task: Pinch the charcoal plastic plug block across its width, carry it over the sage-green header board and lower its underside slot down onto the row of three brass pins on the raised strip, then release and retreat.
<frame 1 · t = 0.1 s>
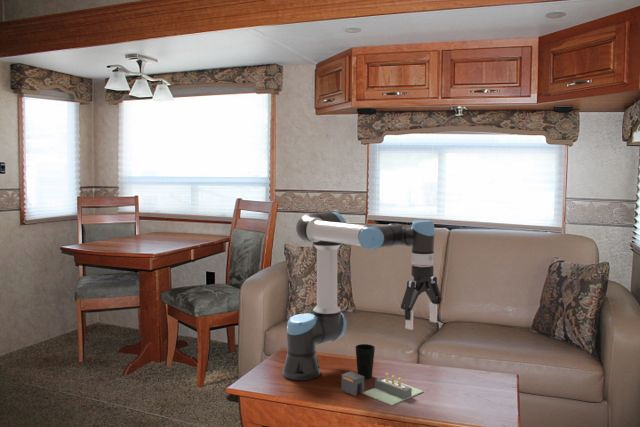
hand: (421, 325, 189), 28 cm above the table, fingers open, 13 cm apart
plug block: (352, 391, 202), on the table
cup: (364, 377, 216), on the table
header: (393, 392, 200), on the table
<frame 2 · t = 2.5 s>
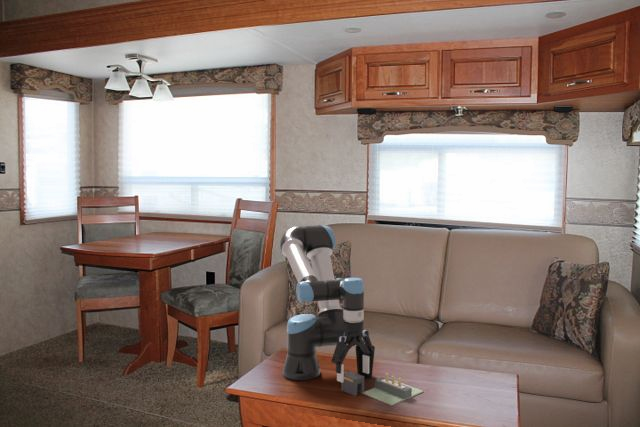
hand: (353, 377, 201), 6 cm above the table, fingers open, 13 cm apart
nothing on the table moved.
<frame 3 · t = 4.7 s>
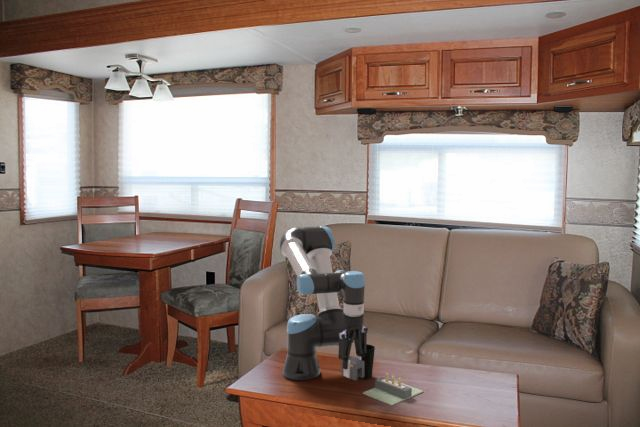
hand: (352, 374, 202), 6 cm above the table, fingers closed on plug block, 5 cm apart
plug block: (352, 376, 202), point 6 cm above the table, touching gripper
everything else where it was.
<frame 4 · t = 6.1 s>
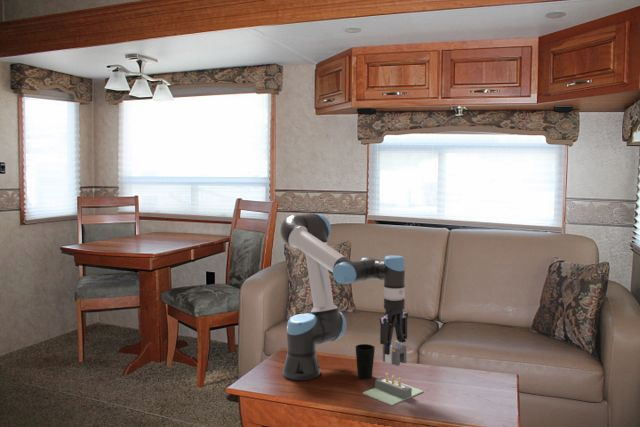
hand: (393, 360, 199), 12 cm above the table, fingers closed on plug block, 5 cm apart
plug block: (394, 361, 199), point 12 cm above the table, touching gripper
everything else where it was.
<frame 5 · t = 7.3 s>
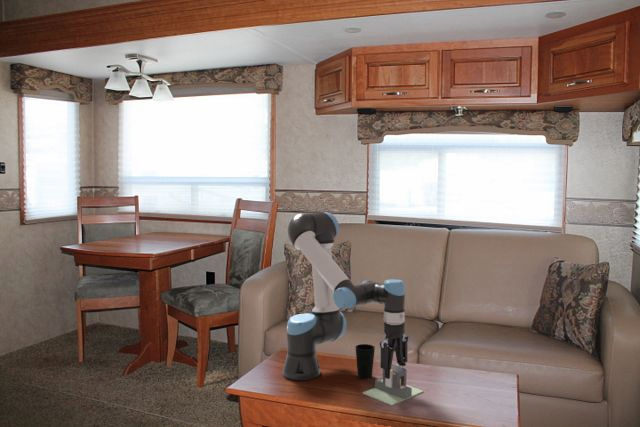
hand: (394, 384, 200), 3 cm above the table, fingers closed on plug block, 5 cm apart
plug block: (394, 384, 199), point 3 cm above the table, touching gripper, header
everything else where it was.
when the fingers open (3 cm above the table, at t = 7.6 s): plug block stays where it is, resting on header.
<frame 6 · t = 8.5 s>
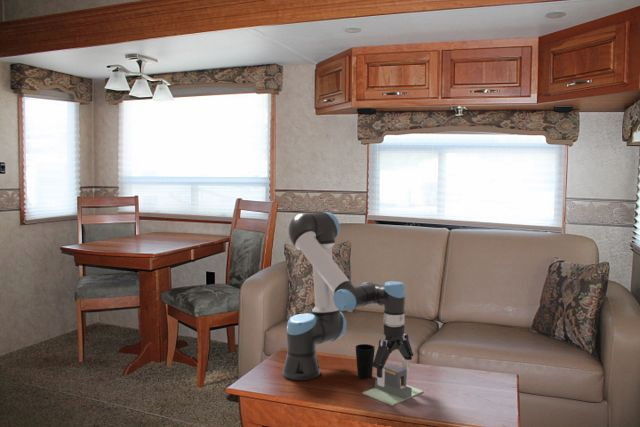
hand: (393, 380, 200), 5 cm above the table, fingers open, 13 cm apart
plug block: (394, 384, 199), point 3 cm above the table, touching header
everything else where it was.
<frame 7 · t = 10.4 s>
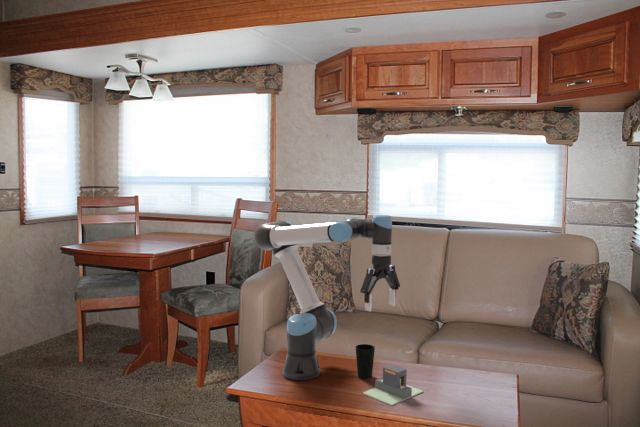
hand: (380, 308, 214), 28 cm above the table, fingers open, 13 cm apart
nothing on the table moved.
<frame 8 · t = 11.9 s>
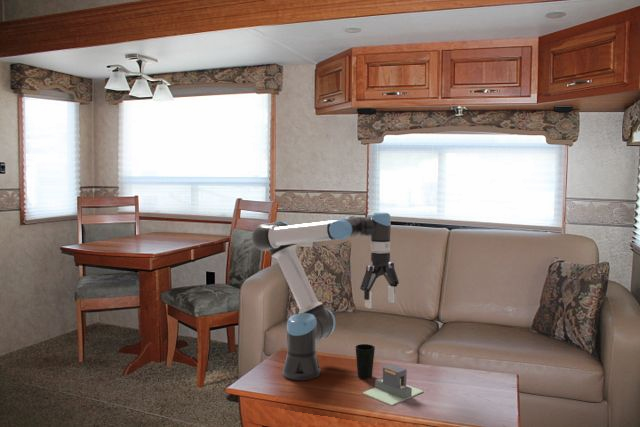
hand: (379, 305, 215), 29 cm above the table, fingers open, 13 cm apart
nothing on the table moved.
at the end: plug block 0.6 cm off-centre on the header, point 3.4 cm above the header's base; plug block tilted 0°; the gripper is holding nothing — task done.
